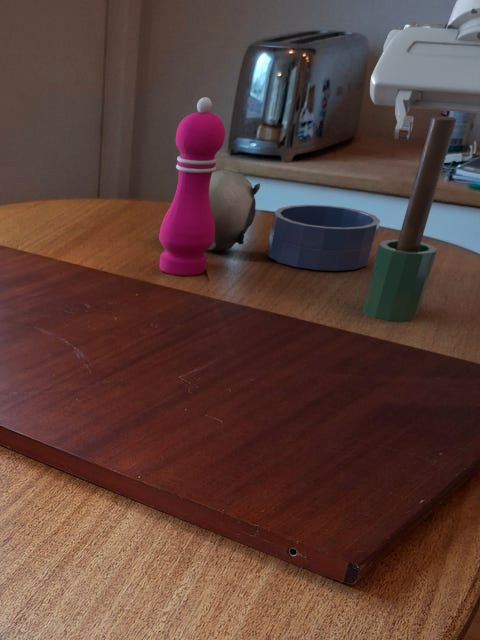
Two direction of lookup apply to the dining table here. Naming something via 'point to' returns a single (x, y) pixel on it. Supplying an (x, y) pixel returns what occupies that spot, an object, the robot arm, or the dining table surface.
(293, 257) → the bowl
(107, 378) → the dining table surface
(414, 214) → the stick
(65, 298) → the dining table surface
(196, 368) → the dining table surface
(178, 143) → the pepper mill
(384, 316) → the holder
